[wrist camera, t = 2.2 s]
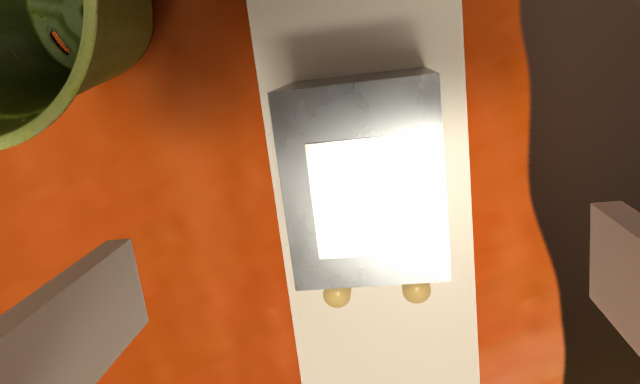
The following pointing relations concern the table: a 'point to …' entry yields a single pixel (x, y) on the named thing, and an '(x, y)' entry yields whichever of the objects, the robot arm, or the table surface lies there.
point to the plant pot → (62, 56)
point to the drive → (363, 179)
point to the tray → (459, 295)
